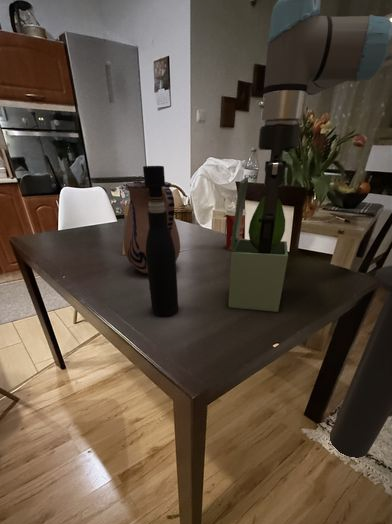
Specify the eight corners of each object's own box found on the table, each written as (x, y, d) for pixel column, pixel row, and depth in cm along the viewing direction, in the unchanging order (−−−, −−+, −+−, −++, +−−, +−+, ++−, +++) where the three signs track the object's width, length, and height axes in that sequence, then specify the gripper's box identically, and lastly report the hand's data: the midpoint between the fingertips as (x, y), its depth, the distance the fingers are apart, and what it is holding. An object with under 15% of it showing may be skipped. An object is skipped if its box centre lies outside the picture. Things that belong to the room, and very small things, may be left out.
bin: (278, 292, 78) (286, 241, 70) (278, 312, 68) (288, 255, 61) (233, 288, 80) (237, 239, 72) (228, 307, 71) (231, 252, 63)
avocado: (263, 258, 62) (270, 197, 55) (240, 249, 68) (244, 193, 61) (288, 252, 66) (298, 193, 59) (265, 244, 71) (271, 190, 64)
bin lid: (248, 177, 64) (245, 177, 64) (243, 182, 55) (239, 182, 55) (239, 237, 72) (236, 236, 72) (233, 250, 63) (229, 250, 63)
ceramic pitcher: (157, 257, 103) (150, 178, 89) (200, 271, 91) (199, 182, 77) (117, 270, 93) (101, 183, 78) (159, 287, 81) (149, 188, 67)
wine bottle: (167, 319, 66) (155, 167, 49) (146, 312, 69) (128, 166, 51) (183, 308, 70) (177, 165, 53) (163, 302, 73) (151, 165, 56)
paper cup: (234, 252, 107) (237, 212, 99) (219, 248, 112) (221, 209, 104) (247, 248, 112) (251, 209, 104) (232, 244, 116) (235, 207, 108)
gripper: (262, 127, 62) (251, 236, 75) (257, 120, 46) (244, 260, 59) (298, 126, 61) (280, 237, 74) (305, 119, 44) (281, 263, 57)
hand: (264, 247), depth 66 cm, fingers closed on avocado, 8 cm apart
